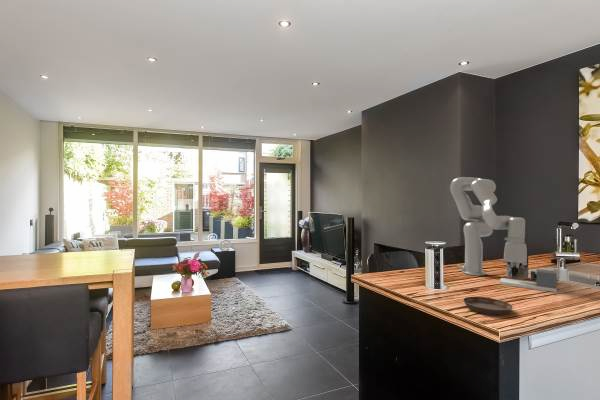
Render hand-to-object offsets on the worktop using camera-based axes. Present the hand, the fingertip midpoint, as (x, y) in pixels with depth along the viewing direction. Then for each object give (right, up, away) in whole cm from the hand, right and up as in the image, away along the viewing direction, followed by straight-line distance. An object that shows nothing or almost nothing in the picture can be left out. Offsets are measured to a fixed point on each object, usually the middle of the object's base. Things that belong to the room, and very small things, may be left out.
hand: (514, 274), depth 177 cm
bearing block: (+11, -4, -8) cm, 14 cm away
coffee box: (+11, -5, +15) cm, 19 cm away
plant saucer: (-37, -6, -40) cm, 55 cm away
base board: (+4, -5, -4) cm, 8 cm away
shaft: (+10, -2, -8) cm, 13 cm away
